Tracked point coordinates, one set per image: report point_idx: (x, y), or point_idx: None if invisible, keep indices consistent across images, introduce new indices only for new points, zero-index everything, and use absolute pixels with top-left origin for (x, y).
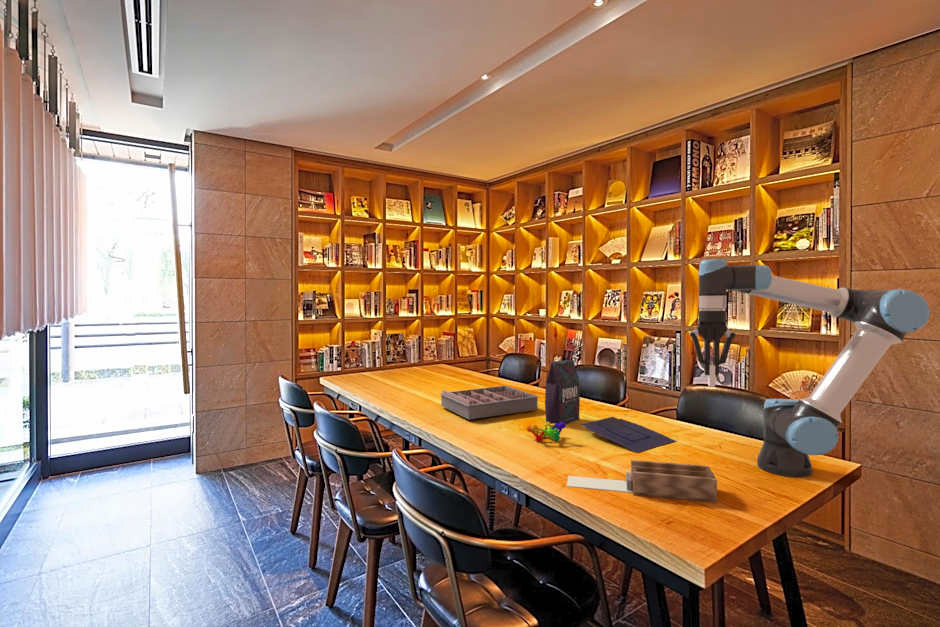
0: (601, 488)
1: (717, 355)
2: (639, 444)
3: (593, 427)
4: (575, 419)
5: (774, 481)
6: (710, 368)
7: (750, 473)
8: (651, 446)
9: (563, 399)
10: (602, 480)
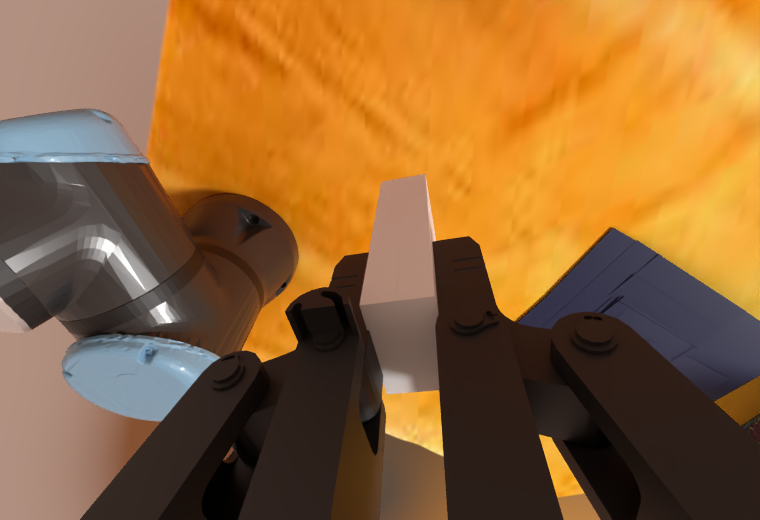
0: None
1: (289, 469)
2: (598, 287)
3: (741, 349)
4: (756, 423)
5: (251, 144)
6: (424, 271)
7: (309, 182)
8: (561, 289)
9: None
10: None
